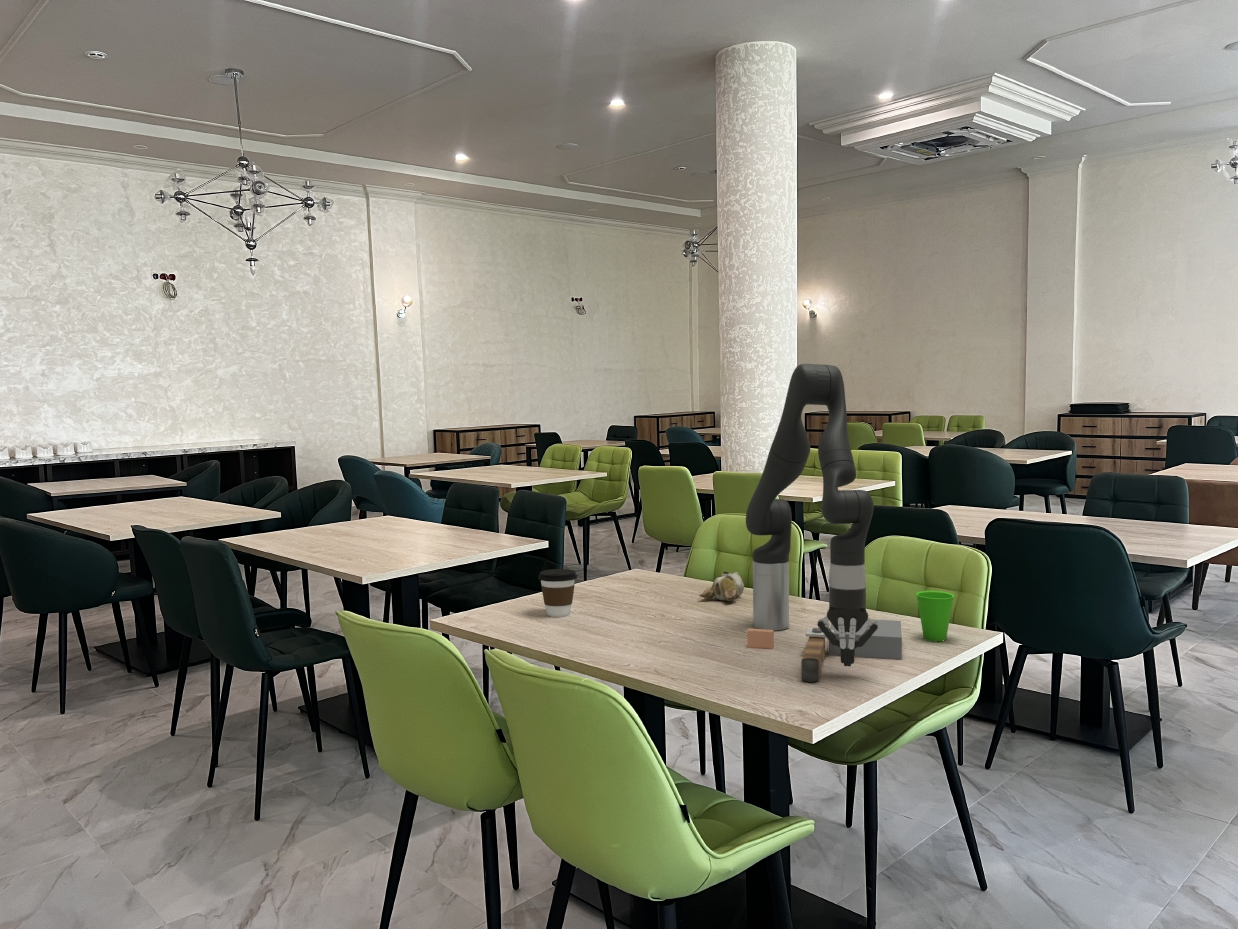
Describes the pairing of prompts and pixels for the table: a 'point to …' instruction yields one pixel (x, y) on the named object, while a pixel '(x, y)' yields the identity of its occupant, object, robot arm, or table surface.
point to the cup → (935, 613)
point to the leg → (813, 659)
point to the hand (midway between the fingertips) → (847, 665)
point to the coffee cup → (558, 591)
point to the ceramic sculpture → (725, 587)
